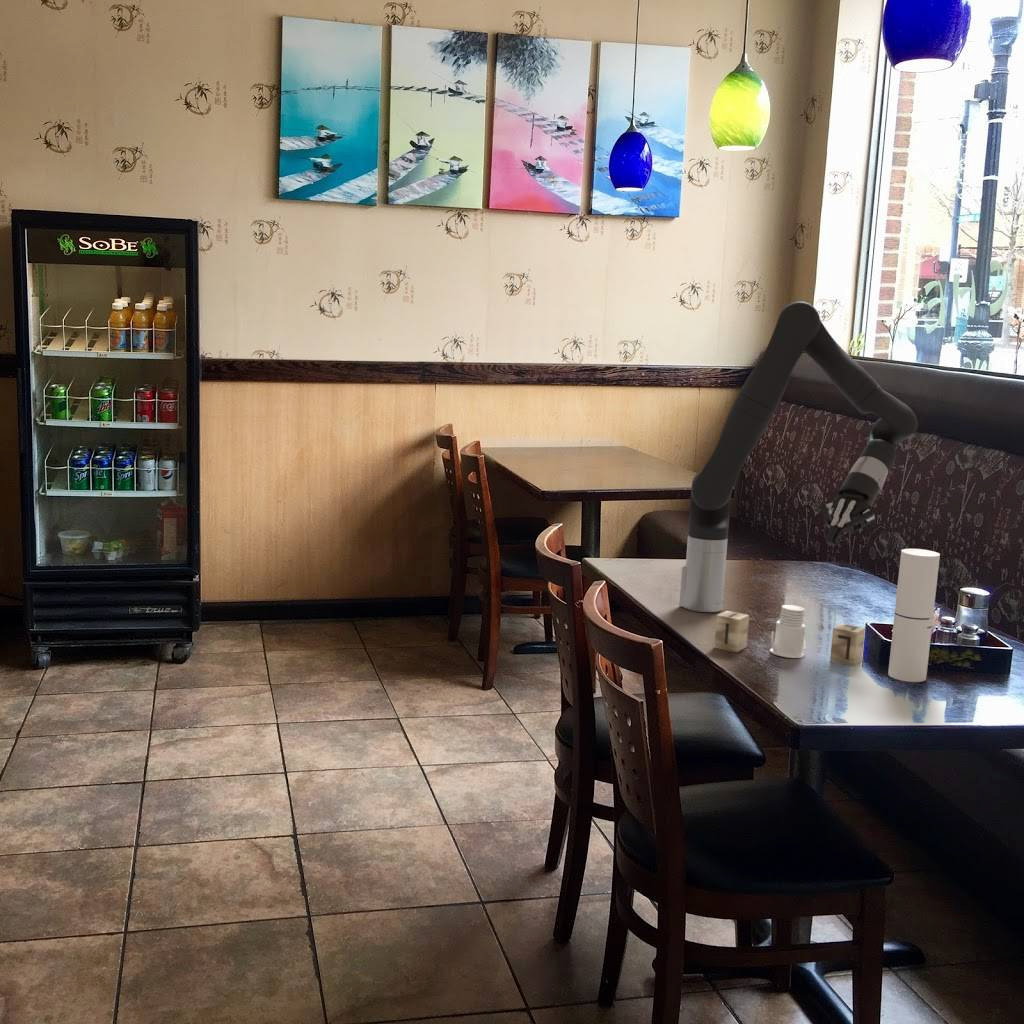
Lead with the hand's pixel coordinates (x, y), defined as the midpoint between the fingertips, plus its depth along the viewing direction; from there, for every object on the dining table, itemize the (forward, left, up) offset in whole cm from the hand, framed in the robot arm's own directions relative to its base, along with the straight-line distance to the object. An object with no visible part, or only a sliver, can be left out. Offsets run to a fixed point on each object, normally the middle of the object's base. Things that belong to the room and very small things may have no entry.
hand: (830, 543), depth 251 cm
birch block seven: (+9, -9, -22) cm, 25 cm away
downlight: (-2, -13, -22) cm, 26 cm away
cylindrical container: (+22, -11, -22) cm, 33 cm away
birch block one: (-13, -17, -22) cm, 31 cm away
